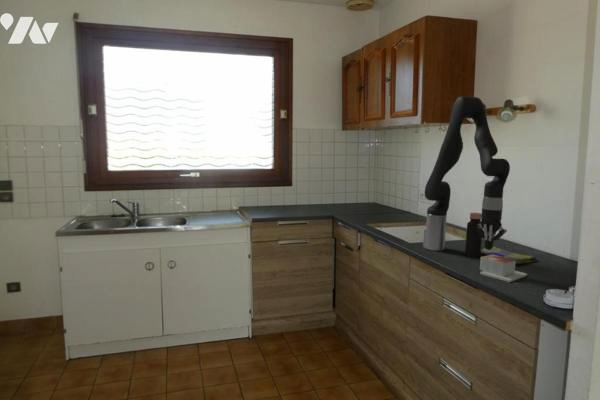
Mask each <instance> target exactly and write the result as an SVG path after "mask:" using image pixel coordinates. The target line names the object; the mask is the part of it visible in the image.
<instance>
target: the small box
mask: <svg viewBox="0 0 600 400" xmlns="http://www.w3.org/2000/svg"><path fill="white" fill-rule="evenodd" d="M515 263H516V261H515V260H512V259H508V258H504V257H501V256H497V255H493V254H492V255H488V256H480V264H479V270H480V271H486V272H489V273H492V274H496V275H499V276H502V277H504V276H507V275H510V274H514V273H515V271H516V265H515Z"/></svg>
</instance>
